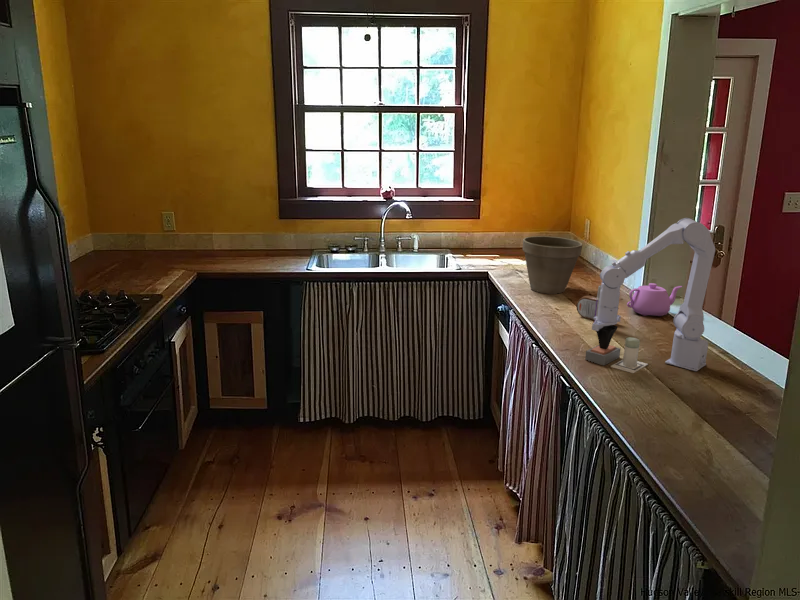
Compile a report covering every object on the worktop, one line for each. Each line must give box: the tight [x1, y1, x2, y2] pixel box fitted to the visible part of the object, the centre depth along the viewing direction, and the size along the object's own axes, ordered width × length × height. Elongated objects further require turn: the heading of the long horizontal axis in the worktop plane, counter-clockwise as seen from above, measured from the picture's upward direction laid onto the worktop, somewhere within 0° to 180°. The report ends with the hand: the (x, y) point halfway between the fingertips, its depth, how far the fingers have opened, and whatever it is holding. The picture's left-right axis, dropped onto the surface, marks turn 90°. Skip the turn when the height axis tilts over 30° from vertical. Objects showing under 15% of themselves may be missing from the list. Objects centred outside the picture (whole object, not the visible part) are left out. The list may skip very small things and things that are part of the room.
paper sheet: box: [610, 359, 649, 374], centre depth 194 cm, size 7×10×1 cm
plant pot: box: [522, 235, 583, 295], centre depth 277 cm, size 25×25×22 cm
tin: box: [576, 295, 597, 321], centre depth 238 cm, size 15×3×8 cm, turn 47°
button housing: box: [584, 344, 621, 366], centre depth 199 cm, size 6×10×3 cm, turn 136°
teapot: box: [626, 282, 683, 317], centre depth 248 cm, size 20×13×12 cm, turn 89°
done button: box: [590, 344, 616, 355], centre depth 198 cm, size 4×8×2 cm, turn 136°
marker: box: [622, 337, 641, 367], centre depth 193 cm, size 4×4×8 cm
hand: (603, 348), depth 198 cm, fingers closed, pressing on done button
